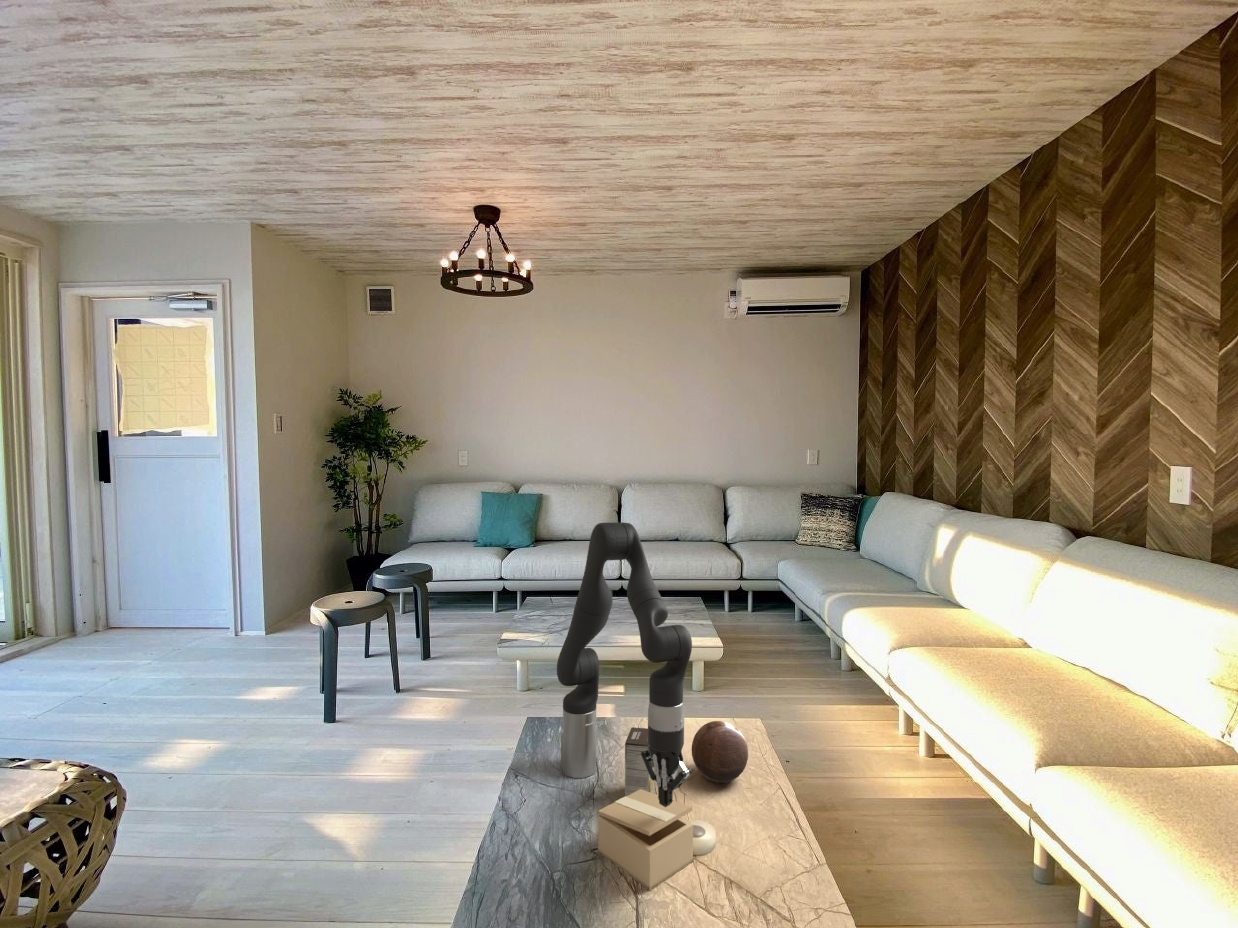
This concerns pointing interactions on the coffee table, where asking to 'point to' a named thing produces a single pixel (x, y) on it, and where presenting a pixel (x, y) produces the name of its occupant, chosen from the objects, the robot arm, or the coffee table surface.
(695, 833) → the cream domed button
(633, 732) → the coffee box
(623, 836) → the box
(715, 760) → the wooden sphere
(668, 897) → the coffee table surface
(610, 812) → the lid
